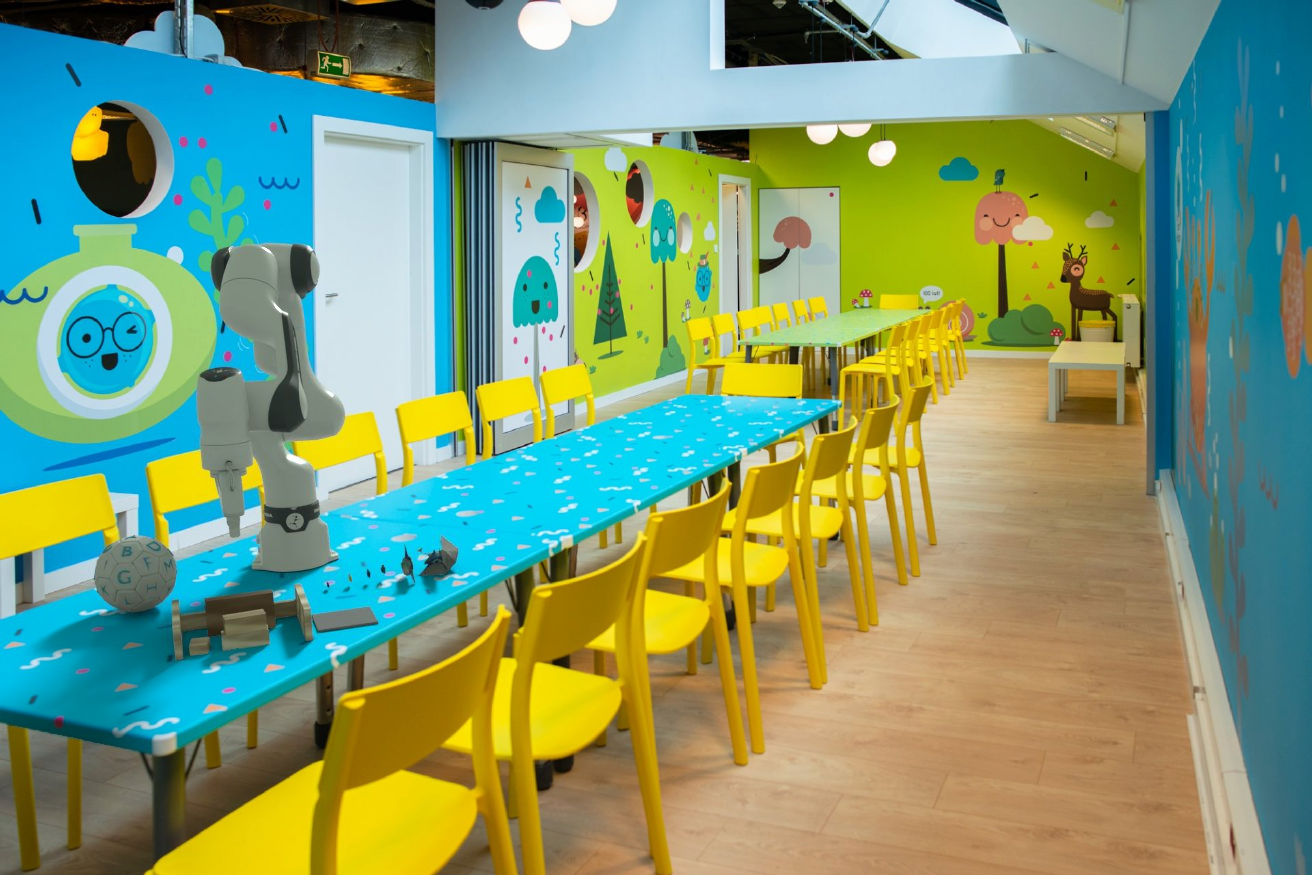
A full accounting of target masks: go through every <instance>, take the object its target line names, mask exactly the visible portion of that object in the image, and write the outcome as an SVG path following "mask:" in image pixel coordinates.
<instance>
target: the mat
mask: <svg viewBox="0 0 1312 875" xmlns="http://www.w3.org/2000/svg"><path fill="white" fill-rule="evenodd" d="M311 618H312V620H313V622H314V625H315V627H316V631H317V632H318V633H322V632H328V631H336V630H337V631H338V630H344V629H350V628H357V627H364V626H369V625H371V626H372V625H378V624H379V621H378V618H377V617H376V614H375V613H374V612H373V609H372V608H371V606H363V607H356V608H355V607H354V608H349V609H347V608H346V609H341V610H335V611H328V612H320V613H311Z"/></svg>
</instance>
